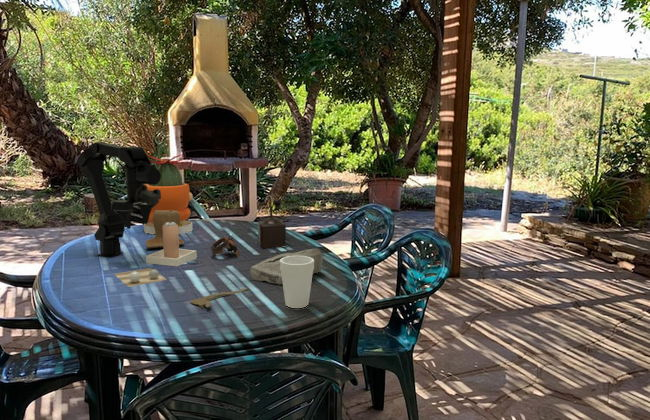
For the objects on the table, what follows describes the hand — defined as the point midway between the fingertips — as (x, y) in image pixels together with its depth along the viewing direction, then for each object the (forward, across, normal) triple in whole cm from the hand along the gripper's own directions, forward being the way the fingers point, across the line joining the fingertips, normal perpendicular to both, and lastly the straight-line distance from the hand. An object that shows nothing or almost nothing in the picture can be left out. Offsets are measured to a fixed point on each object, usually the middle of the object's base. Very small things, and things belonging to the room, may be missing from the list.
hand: (137, 226), depth 178 cm
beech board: (+13, -16, -13) cm, 24 cm away
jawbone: (+14, -24, -48) cm, 56 cm away
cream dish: (+13, +4, -11) cm, 17 cm away
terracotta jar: (+12, +4, -11) cm, 17 cm away
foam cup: (+13, -22, -69) cm, 74 cm away
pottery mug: (+13, +18, -26) cm, 34 cm away
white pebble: (+12, -21, -15) cm, 29 cm away
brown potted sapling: (+13, +41, -34) cm, 55 cm away
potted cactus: (+13, +45, +19) cm, 51 cm away
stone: (+14, +2, -57) cm, 58 cm away
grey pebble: (+12, -16, -18) cm, 28 cm away
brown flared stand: (+13, +22, +5) cm, 26 cm away
